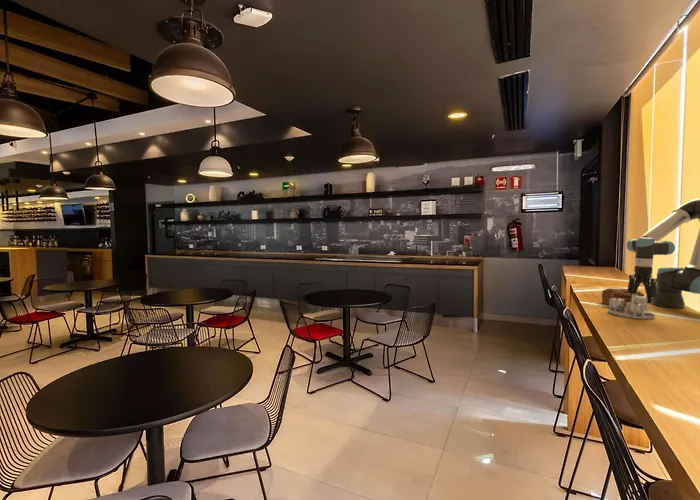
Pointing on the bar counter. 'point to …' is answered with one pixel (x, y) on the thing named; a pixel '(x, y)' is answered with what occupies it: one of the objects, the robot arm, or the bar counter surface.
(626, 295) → the bread
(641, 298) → the planet gear
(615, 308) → the carrier
